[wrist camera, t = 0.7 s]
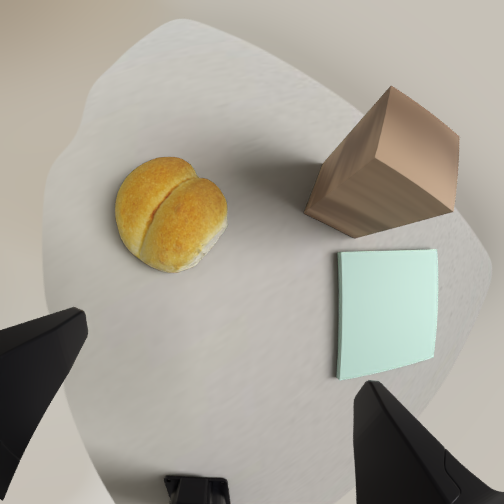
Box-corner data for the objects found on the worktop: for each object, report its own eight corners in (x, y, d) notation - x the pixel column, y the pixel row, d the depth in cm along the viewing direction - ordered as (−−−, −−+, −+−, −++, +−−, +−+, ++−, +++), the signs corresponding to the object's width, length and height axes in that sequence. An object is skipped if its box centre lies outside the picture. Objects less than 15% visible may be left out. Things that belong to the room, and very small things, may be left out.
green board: (428, 355, 22) (433, 357, 21) (336, 377, 21) (339, 380, 20) (432, 250, 23) (437, 249, 22) (337, 252, 22) (341, 251, 21)
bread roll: (165, 149, 22) (154, 127, 18) (243, 212, 22) (246, 199, 18) (103, 221, 21) (81, 212, 17) (177, 291, 21) (165, 295, 17)
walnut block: (354, 238, 22) (453, 211, 10) (303, 213, 22) (374, 157, 10) (370, 189, 23) (459, 136, 11) (322, 163, 22) (390, 85, 10)
